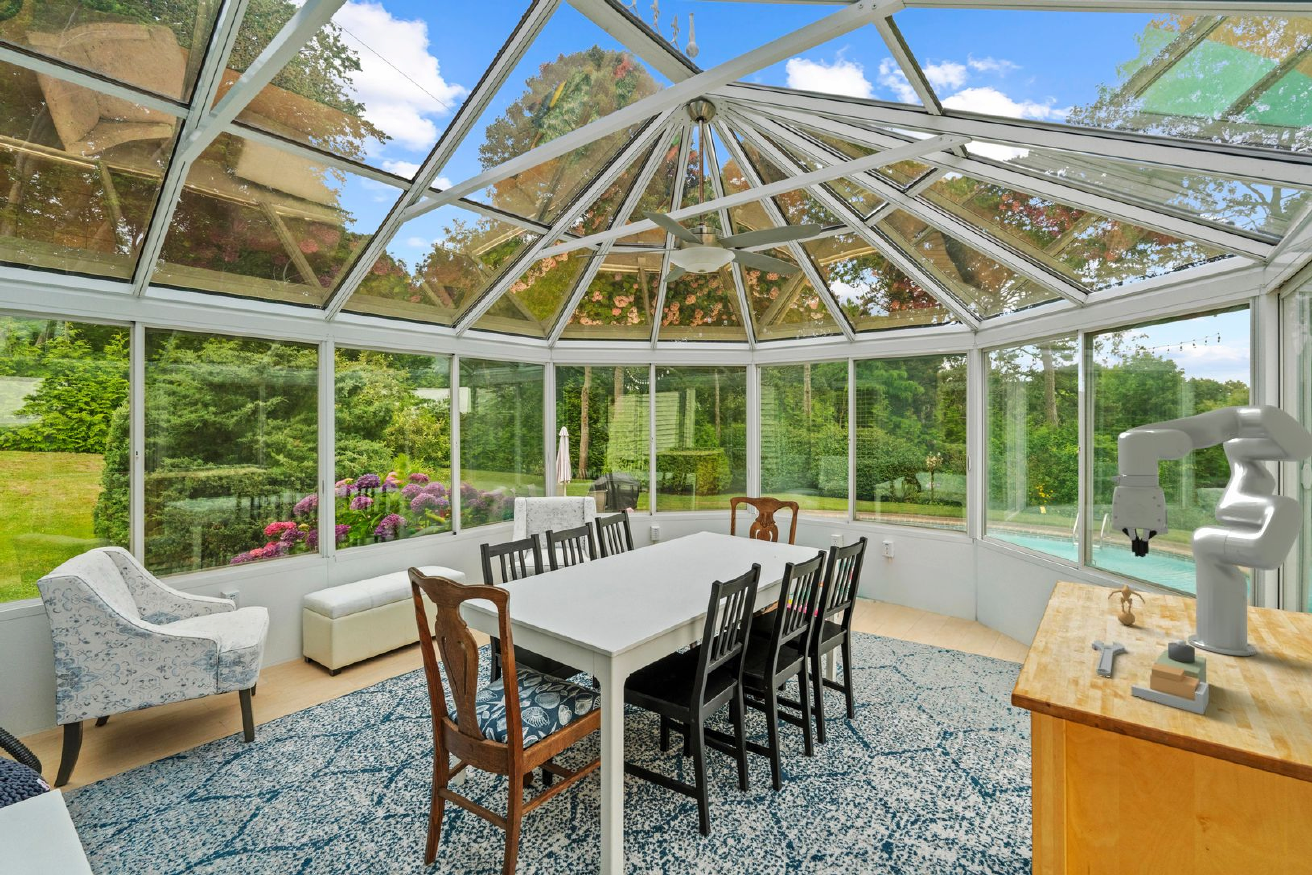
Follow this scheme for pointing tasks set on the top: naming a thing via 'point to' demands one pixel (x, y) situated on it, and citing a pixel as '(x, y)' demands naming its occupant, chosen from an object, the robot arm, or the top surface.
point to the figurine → (1127, 616)
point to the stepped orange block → (1173, 681)
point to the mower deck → (1194, 668)
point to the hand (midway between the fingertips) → (1140, 555)
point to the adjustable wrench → (1106, 656)
